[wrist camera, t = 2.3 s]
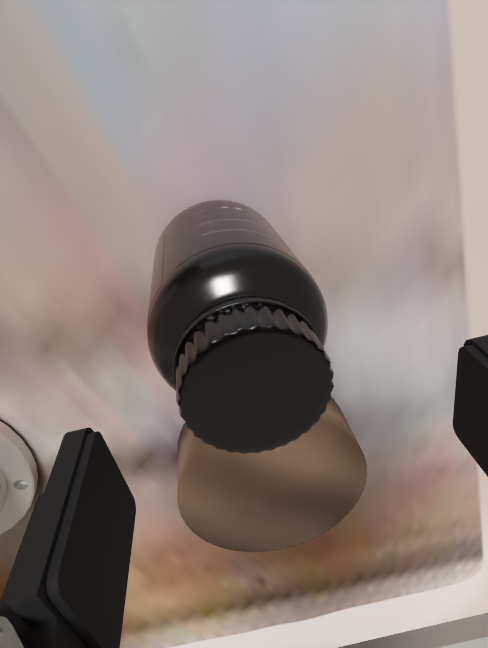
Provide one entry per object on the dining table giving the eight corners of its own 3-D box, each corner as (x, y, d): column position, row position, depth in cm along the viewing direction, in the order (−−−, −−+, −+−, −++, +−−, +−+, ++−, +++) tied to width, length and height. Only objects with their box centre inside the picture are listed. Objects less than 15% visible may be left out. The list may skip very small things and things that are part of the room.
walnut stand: (270, 521, 34) (281, 570, 31) (142, 466, 29) (138, 516, 26) (378, 425, 31) (404, 468, 27) (253, 344, 26) (265, 383, 22)
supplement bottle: (263, 323, 25) (325, 486, 15) (147, 307, 24) (124, 475, 13) (295, 209, 22) (401, 313, 12) (165, 182, 21) (152, 273, 10)
